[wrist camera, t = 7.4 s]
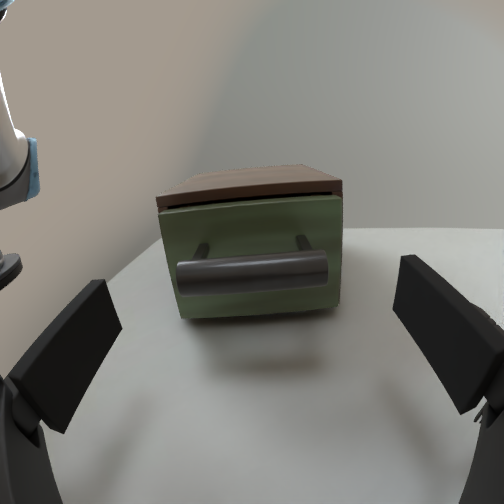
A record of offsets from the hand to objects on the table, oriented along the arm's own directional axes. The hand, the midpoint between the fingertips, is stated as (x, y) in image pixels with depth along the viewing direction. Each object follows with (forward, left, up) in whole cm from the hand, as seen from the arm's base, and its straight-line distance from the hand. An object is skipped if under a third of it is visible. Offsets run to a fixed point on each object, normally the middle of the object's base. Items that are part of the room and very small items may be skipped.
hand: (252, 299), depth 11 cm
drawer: (-10, +5, -5) cm, 12 cm away
